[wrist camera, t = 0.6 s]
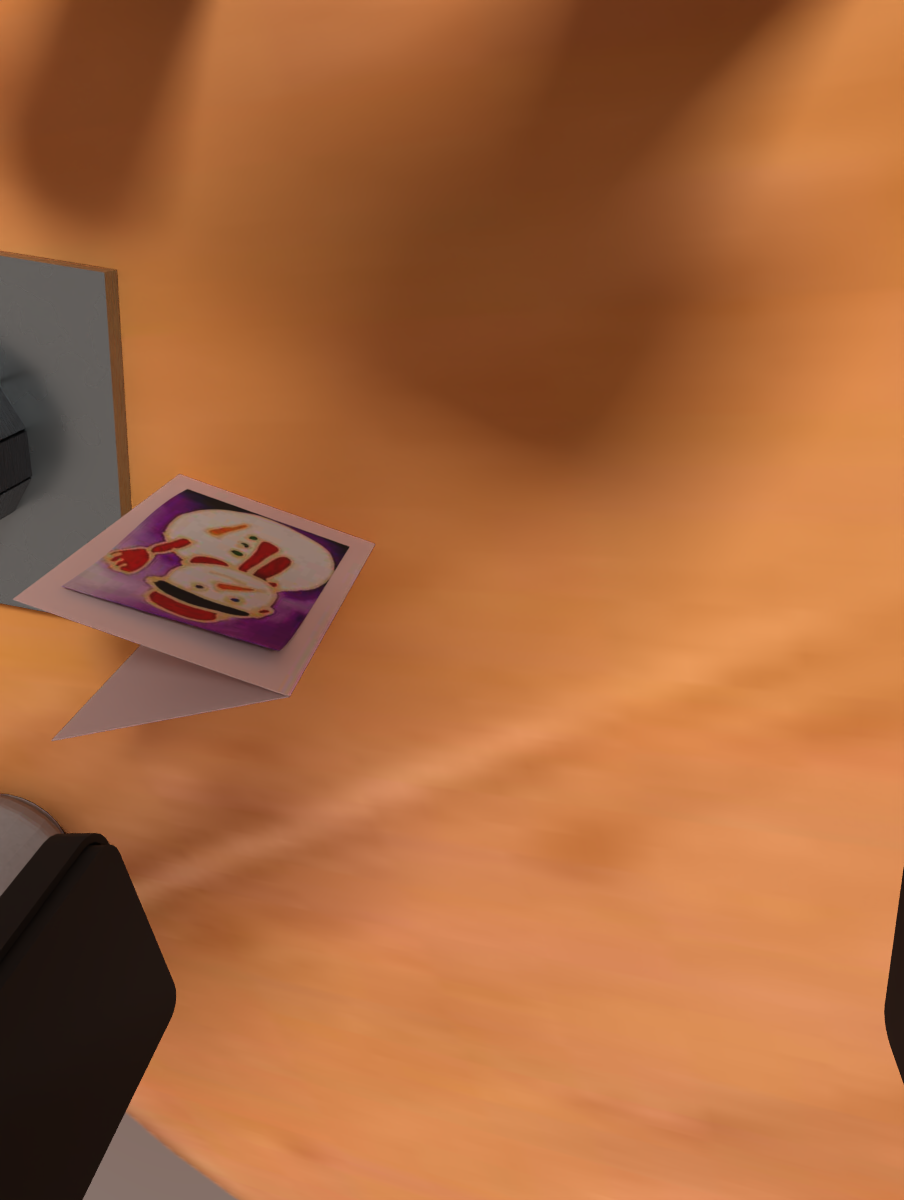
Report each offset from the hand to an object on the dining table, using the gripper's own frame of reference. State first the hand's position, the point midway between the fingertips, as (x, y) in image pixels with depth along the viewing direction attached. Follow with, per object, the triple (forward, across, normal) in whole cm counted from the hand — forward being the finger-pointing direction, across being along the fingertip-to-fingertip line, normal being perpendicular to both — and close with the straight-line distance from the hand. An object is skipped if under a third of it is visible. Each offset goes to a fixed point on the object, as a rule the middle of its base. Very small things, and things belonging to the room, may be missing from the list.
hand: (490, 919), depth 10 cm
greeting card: (+34, +17, +9) cm, 39 cm away
